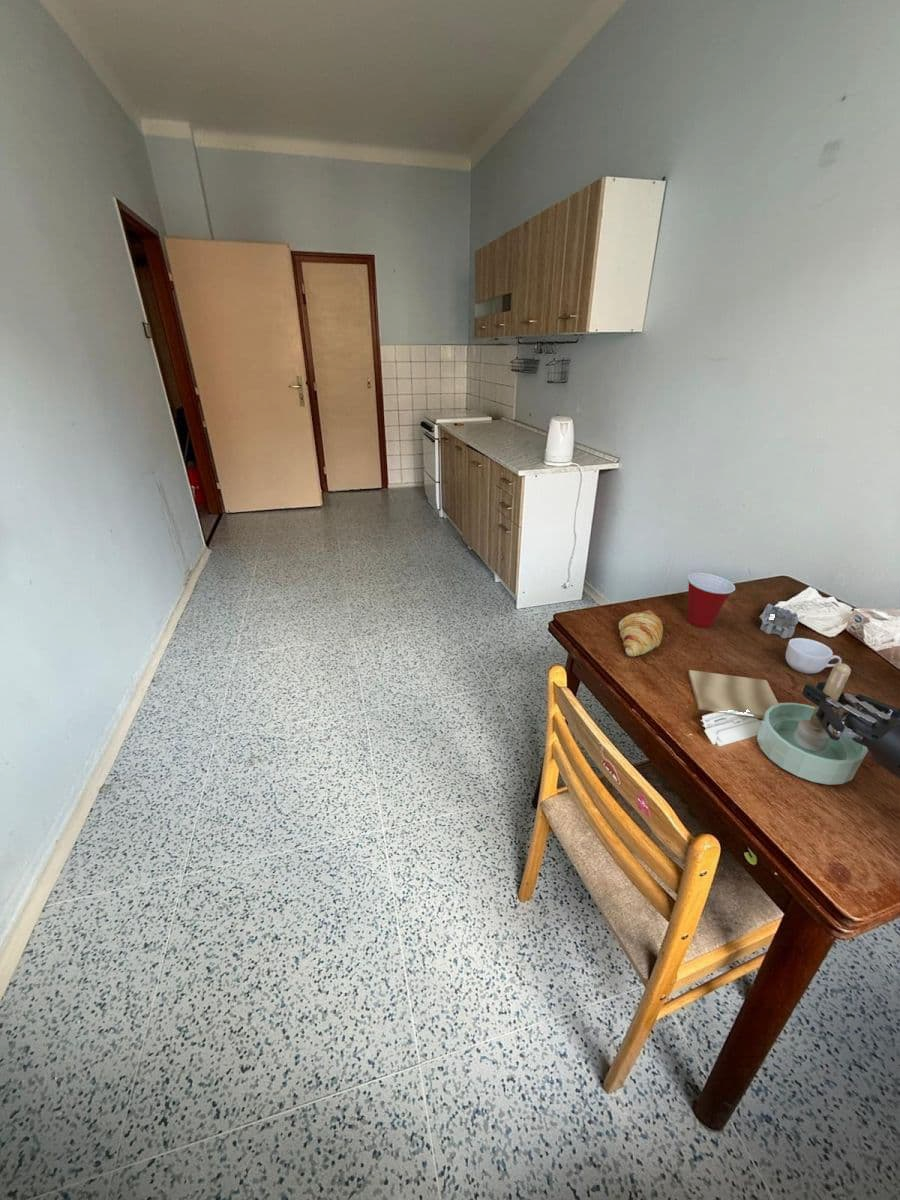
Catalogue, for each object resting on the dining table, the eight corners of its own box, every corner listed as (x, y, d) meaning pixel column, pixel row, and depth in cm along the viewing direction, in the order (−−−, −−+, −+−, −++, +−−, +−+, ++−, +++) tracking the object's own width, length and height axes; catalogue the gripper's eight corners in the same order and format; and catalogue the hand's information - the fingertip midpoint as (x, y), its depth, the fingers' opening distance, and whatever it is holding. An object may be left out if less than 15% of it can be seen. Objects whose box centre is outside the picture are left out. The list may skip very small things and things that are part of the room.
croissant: (639, 676, 108) (663, 655, 103) (603, 649, 110) (624, 627, 105) (656, 631, 124) (677, 611, 119) (624, 608, 126) (643, 588, 120)
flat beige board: (765, 683, 100) (766, 680, 99) (784, 722, 89) (786, 718, 89) (688, 673, 103) (689, 669, 103) (698, 709, 93) (699, 705, 93)
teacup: (784, 673, 103) (792, 652, 100) (778, 654, 109) (786, 634, 106) (839, 684, 99) (849, 663, 96) (831, 664, 105) (840, 644, 102)
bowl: (832, 732, 87) (844, 709, 84) (871, 795, 75) (885, 770, 72) (746, 719, 90) (755, 697, 88) (770, 777, 78) (780, 753, 76)
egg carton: (791, 641, 114) (796, 626, 112) (755, 631, 118) (760, 617, 116) (797, 623, 121) (802, 609, 119) (763, 614, 125) (768, 600, 123)
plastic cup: (728, 636, 116) (741, 592, 110) (680, 630, 119) (691, 587, 113) (719, 614, 125) (731, 573, 119) (675, 609, 128) (684, 569, 122)
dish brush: (819, 734, 82) (854, 658, 75) (830, 754, 78) (868, 675, 71) (789, 730, 83) (821, 654, 76) (798, 749, 79) (833, 670, 72)
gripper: (978, 733, 64) (852, 662, 79) (900, 754, 61) (785, 675, 76) (951, 772, 67) (836, 697, 82) (877, 794, 64) (771, 712, 79)
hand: (812, 687), depth 79 cm, fingers closed on dish brush
